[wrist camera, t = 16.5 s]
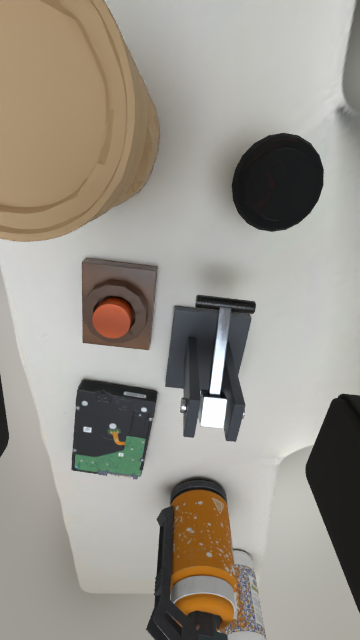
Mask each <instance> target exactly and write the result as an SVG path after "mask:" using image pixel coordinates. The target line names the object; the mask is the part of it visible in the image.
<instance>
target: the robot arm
mask: <svg viewBox="0 0 360 640" xmlns="http://www.w3.org/2000/svg"><path fill="white" fill-rule="evenodd" d="M8 440H9V432H8V425H7V419H6V411H5V405H4V397H3V391H2V384H1V376H0V457H1V455H2V454H3V452H4V450H5V449H6V447H7V444H8ZM306 477H307V480H308V483H309V485H310V488H311V490H312V493H313V495H314V498H315V501H316V503H317V506H318V508H319V511H320V513H321V516H322V518H323V521H324V524H325V526H326V528H327V531H328V534H329V536H330V539H331V541H332V544H333V547H334V549H335V551H336V554H337V557H338V559H339V561H340V564H341V567H342V569H343V572H344V575H345V577H346V580H347V582H348V585H349V587H350V590H351V593H352V595H353V597H354V600H355V602H356V605H357V608H358V610H359V612H360V396H359V395H349V394H341V395H339V396H338V398H335V399H333V400H332V402H331V404H330V407H329V409H328V412H327V414H326V417H325V419H324V422H323V424H322V426H321V429H320V431H319V434H318V436H317V439H316V441H315V444H314V446H313V449H312V451H311V454H310V456H309V459H308V461H307V464H306Z"/></svg>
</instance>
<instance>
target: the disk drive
mask: <svg viewBox="0 0 360 640" xmlns="http://www.w3.org/2000/svg"><path fill="white" fill-rule="evenodd" d="M156 400H157V392H155V391H149V390H145V389H139V388H133V387H127V386H120V385H115V384H108V383H102V382H96V381H88V380H82V381H81V384H80V385H79V387H78V390H77V398H76V412H75V426H74V441H73V453H72V468H71V469H72V470H73V471H80V472H87V473H94V474H97V473H98V474H99V475H106V476H107V474H110V475H115V476H116V475H118V476H124V477H133V479H137V478H138V476H139V477H140V476H141V473H142V470H143V466H144V460H145V455H146V450H147V445H148V440H149V436H150V430H151V426H152V420H153V417H154V413H155V406H156Z"/></svg>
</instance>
